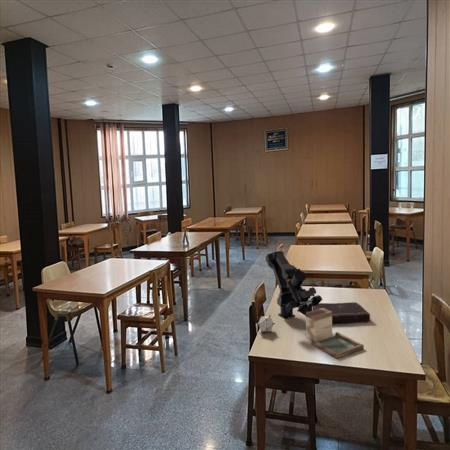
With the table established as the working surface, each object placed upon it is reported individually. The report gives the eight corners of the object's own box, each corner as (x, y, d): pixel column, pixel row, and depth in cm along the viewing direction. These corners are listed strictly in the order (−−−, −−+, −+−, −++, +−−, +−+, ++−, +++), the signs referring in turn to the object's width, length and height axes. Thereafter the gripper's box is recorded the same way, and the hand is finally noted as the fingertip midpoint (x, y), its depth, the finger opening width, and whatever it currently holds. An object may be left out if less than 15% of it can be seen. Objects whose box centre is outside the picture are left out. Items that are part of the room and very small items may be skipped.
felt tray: (311, 344, 162) (311, 340, 162) (337, 335, 169) (337, 332, 169) (336, 358, 149) (336, 354, 149) (363, 349, 156) (363, 345, 156)
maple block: (306, 337, 169) (306, 312, 167) (322, 332, 174) (322, 307, 172) (315, 342, 164) (315, 316, 162) (332, 336, 168) (332, 311, 167)
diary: (370, 323, 182) (370, 313, 182) (320, 326, 181) (320, 316, 180) (355, 309, 201) (355, 300, 200) (309, 312, 200) (309, 303, 199)
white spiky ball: (268, 337, 179) (277, 318, 181) (270, 338, 171) (280, 319, 173) (251, 328, 180) (261, 309, 182) (253, 329, 171) (263, 309, 173)
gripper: (288, 285, 170) (304, 316, 161) (319, 279, 178) (336, 307, 170) (278, 297, 178) (293, 327, 169) (309, 290, 186) (324, 318, 178)
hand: (312, 319), depth 171 cm, fingers closed
